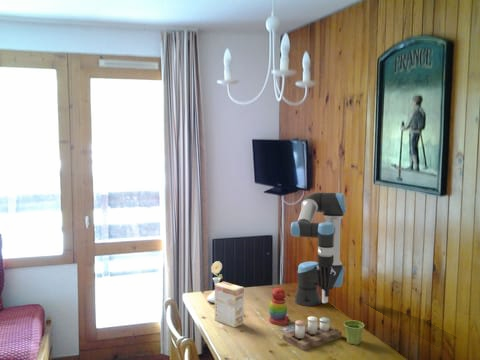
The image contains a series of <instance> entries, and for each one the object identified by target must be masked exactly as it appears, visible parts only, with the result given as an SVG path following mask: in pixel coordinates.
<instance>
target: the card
mask: <svg viewBox="0 0 480 360" xmlns="http://www.w3.org/2000/svg"><path fill="white" fill-rule="evenodd" d="M305 327H308V325H305ZM278 331H280V332H282V333H283V334H285V333H289V332H292V331H295V323H293V324H290V325H285V326H282V327H280V328H278Z"/></svg>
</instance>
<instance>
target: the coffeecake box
mask: <svg viewBox="0 0 480 360" xmlns="http://www.w3.org/2000/svg"><path fill="white" fill-rule="evenodd" d="M214 290H215V303H214V321H216V322H219V323H221V324H224V325H227V326H229V327H233V328H234V329H235V328H237V327H240V326H242V325H244V323H245V321H244V317H245V316H244V312H245V309H244V308H245V307H244V303H245V301H244V295H245V294H244V290H245V287H244V286H242V285H241V286H240V285H237V284H233V283H230V282H227V281H222V282H220V281H219V283H217V284H215V283H214Z"/></svg>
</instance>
